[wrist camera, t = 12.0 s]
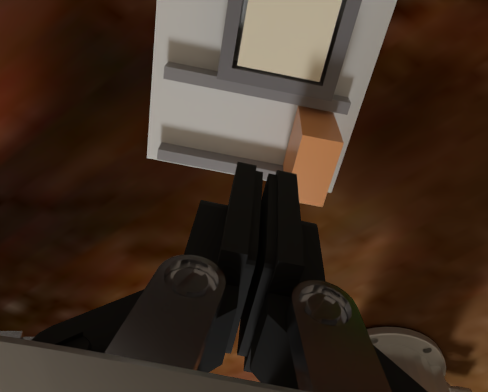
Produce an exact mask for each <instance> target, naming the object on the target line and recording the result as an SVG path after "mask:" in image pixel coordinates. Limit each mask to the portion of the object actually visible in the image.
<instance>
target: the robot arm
mask: <svg viewBox="0 0 488 392" xmlns="http://www.w3.org/2000/svg"><path fill="white" fill-rule="evenodd" d="M256 167H257V165H252V164H247V163H243V162H237V167H236V171H235V176H234V181H233V185H232V190H231V195H230V199H229V204H228V206H227V205H223V204H218V203H213V202H208V201H203V200H201V202H200V205H199V208H198V211H197V214H196V217H195V221H194V224H193V227H192V230H191V234H190V237H189V240H188V243H187V246H186V250H185V253H184V255H179V256H175V257H171V258H170V259H168V260H166V261H164V262H163V263H162V264H161V265H160V266H159V267H158V269H157V271H156V272H155V274H154V275H153V277H152V279H151V280H150V282H149V283H148V285H147V286H146V288H145V289H144V290H142V291H139V292H137V293H134V294H132V295H129V296H126V297H124V298H121V299H119V300H116V301H114V302H111V303H109V304H106V305H104V306H101V307H99V308H96V309H94V310H91V311H89V312H86V313H84V314H81V315H79V316H76V317H74V318H71V319H69V320H66V321H64V322H61V323H59V324H56V325H53V326H51V327H49V328H47V329H45V330H44V331H42V332H40V333H39V334H37V335H36V336H35V337H23V331H0V392H472V391H471V389H469V388H464V387H459V386H456V387H455V386H450V385H449V384H448V383H447V382H446V380H445V378H444V377H445V374H446V363H445V359H444V357H443V354H442V352H441V350H440V348H439V347H438V346H437V344H436V343H435V342H434V341H432V340H431V339H430V338H429V337H427V336H425V335H423V334H421V333H419V332H416V331H413V330H410V329H405V328H400V327H376V328H370V329H366V327H365V324H364V322H363V319H362V317H361V315H360V312H359V310H358V307H357V305H356V304H355V302H354V300H353V299H352V298H351V297H350V296H349V295H348V294H347V293H346V292H345V291H343V290H342V289H340V288H339V287H337V286H335V285H333V284H331V283H328V282H325V275H324V268H323V261H322V254H321V248H320V241H319V234H318V228H317V225H316V224H314V223H309V222H304V221H301V217H300V205H299V194H298V182H297V174H294V173H290V172H285V171H280V170H277V171H276V174H275V175H274V174H270V173H269V174H268V177H267V181H266V184H265V188H264V192H263V196H262V182H263V172H260V171H256ZM261 197H262V200H261ZM240 319H241V320H240ZM239 322H240V330H239V340H238V350H237V355H240V356H245V361H244V371H247V372H252V373H253V374H254V375H255V376H256V377H257V379H258V380H259V381H260V382H255V381H249V380H244V379H239V378H234V377H228V376H223V375H218V374H213V373H208V372H210V371H212V370H213V369H215V368H217V367H218V366H220V365H222V362H223V359H224V355H225V353H231V351H232V347H233V344H234V340H235V337H236V333H237V330H238V326H239Z"/></svg>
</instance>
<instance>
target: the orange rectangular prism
mask: <svg viewBox="0 0 488 392" xmlns="http://www.w3.org/2000/svg"><path fill="white" fill-rule="evenodd" d="M343 144H344V142H343V139H342V136H341V133H340V130H339V127H338V124H337V122H336V119H335V116H334V113H333V112H329V111H324V110H319V109H314V108H308V107H303V106H298V108H297V112H296V116H295V120H294V123H293V127H292V131H291V135H290V139H289V143H288V147H287V150H286V154H285V158H284V162H283V171H285V172H290V173H294V174H297V182H298V194H299V203H303V204H309V205H314V206H319V207H323V204H324V201H325V198H326V195H327V192H328V189H329V186H330V183H331V180H332V177H333V174H334V171H335V168H336V165H337V162H338V159H339V156H340V153H341V150H342V147H343Z"/></svg>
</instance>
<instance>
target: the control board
mask: <svg viewBox="0 0 488 392" xmlns="http://www.w3.org/2000/svg"><path fill="white" fill-rule="evenodd" d="M396 2H397V0H342V3H341V7H340V10H339V14H338V17H337V21H336V25H335V28H334V32H333V35H332V39H331V42H330V46H329V50H328V53H327V57H326V60H325V64H324V68H323V71H322V75H321V78H320V82H317V81H312V80H307V79H302V78H297V77H292V76H287V75H282V74H277V73H272V72H267V71H262V70H257V69H252V68H247V67H242V66H237V63H238V57H239V51H240V45H241V39H242V33H243V27H244V21H245V15H246V9H247V4H248V0H157V6H156V22H155V38H154V54H153V70H152V85H151V101H150V117H149V133H148V148H147V158H150V159H155V160H160V161H166V162H171V163H176V164H181V165H187V166H192V167H197V168H203V169H208V170H213V171H218V172H224V173H229V174H234V175H235V171H236V167H237V162H243V163H247V164H252V165H257V167H256V171H260V172H263V180H266V181H267V177H268V174H269V173H270V174H274V175H275V174H276V171H277V170H280V171H283V162H284V158H285V154H286V150H287V147H288V143H289V139H290V135H291V131H292V127H293V123H294V120H295V116H296V112H297V108H298V106H303V107H308V108H314V109H319V110H324V111H329V112H333V113H334V116H335V119H336V122H337V124H338V127H339V130H340V133H341V136H342V139H343V142H344V144H343V147H342V150H341V153H340V156H339V159H338V162H337V165H336V168H335V171H334V174H333V177H332V180H331V183H330V186H329V189H328V192H329V193H331V192H332V189H333V186H334V184H335V181H336V178H337V175H338V172H339V169H340V166H341V163H342V160H343V157H344V154H345V151H346V148H347V146H348V143H349V140H350V137H351V134H352V131H353V128H354V125H355V122H356V119H357V116H358V113H359V110H360V107H361V105H362V102H363V99H364V96H365V93H366V90H367V87H368V84H369V81H370V78H371V75H372V72H373V69H374V67H375V64H376V61H377V58H378V55H379V52H380V49H381V46H382V43H383V40H384V37H385V34H386V31H387V28H388V26H389V23H390V20H391V17H392V14H393V11H394V8H395V5H396Z"/></svg>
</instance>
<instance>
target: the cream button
mask: <svg viewBox="0 0 488 392" xmlns="http://www.w3.org/2000/svg"><path fill="white" fill-rule="evenodd" d="M341 3H342V0H248V4H247V9H246V15H245V21H244V27H243V33H242V39H241V45H240V51H239V57H238V63H237V66H242V67H247V68H252V69H257V70H262V71H267V72H272V73H277V74H282V75H287V76H292V77H297V78H302V79H307V80H312V81H317V82H320V78H321V75H322V71H323V68H324V64H325V60H326V57H327V53H328V50H329V46H330V42H331V39H332V35H333V32H334V28H335V25H336V21H337V17H338V14H339V10H340V7H341Z"/></svg>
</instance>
